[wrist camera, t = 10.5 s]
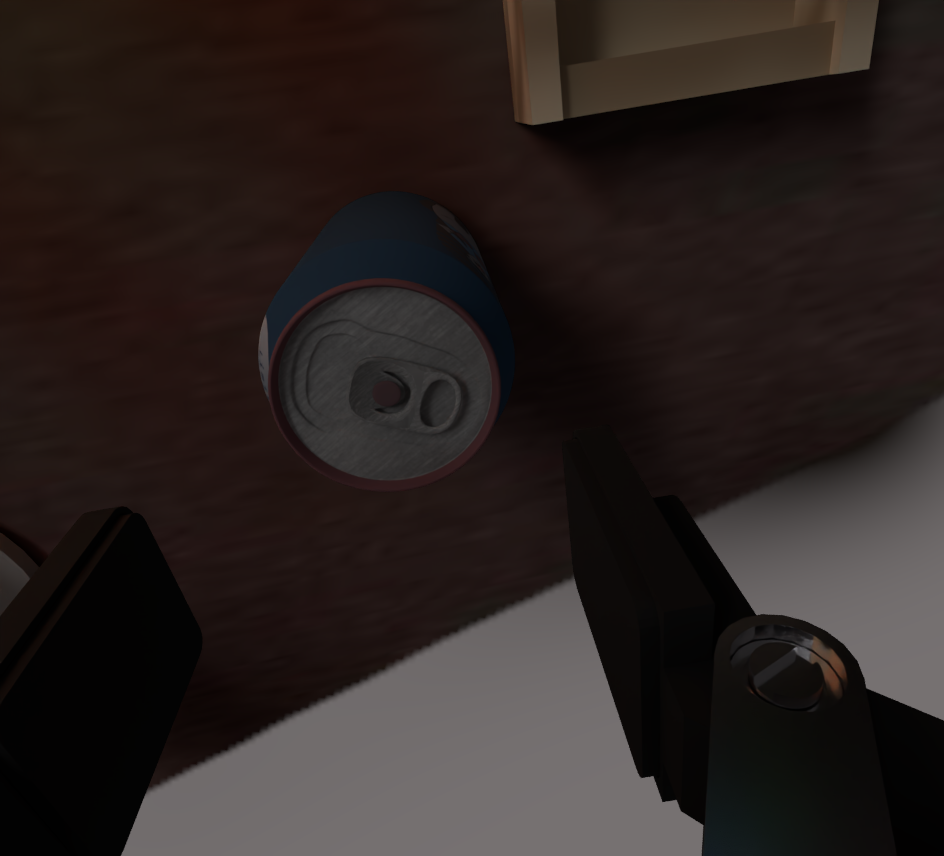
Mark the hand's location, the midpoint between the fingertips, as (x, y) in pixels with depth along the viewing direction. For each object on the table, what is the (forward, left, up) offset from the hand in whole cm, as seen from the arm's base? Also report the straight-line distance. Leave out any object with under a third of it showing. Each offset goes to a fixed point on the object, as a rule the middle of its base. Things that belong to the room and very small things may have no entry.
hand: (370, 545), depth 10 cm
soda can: (0, 0, -18) cm, 18 cm away
